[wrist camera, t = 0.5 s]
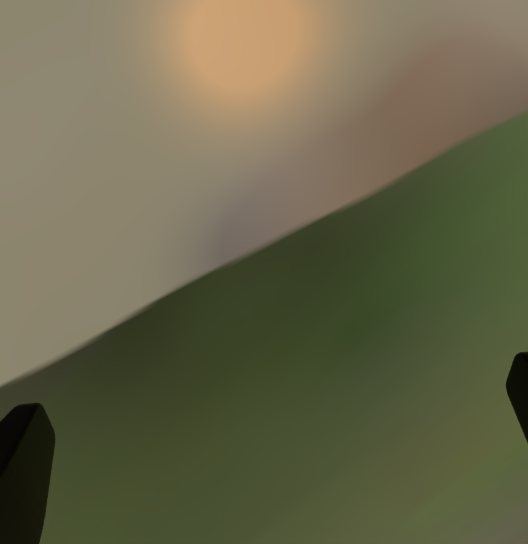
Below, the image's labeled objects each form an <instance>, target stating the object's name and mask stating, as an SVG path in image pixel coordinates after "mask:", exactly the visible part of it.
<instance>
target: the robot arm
mask: <svg viewBox="0 0 528 544" xmlns="http://www.w3.org/2000/svg"><path fill="white" fill-rule="evenodd" d="M506 390H507V394H508V396H509V399H510V401H511V404H512V406H513V409H514V411H515V413H516V416H517V418H518V421H519V423H520V425H521V428H522V430H523V433H524V435H525V438H526V440H527V442H528V352H520V353H518V354H517V355H516V356H515V357H514V360H513V363H512V366H511V369H510V372H509V375H508V378H507V381H506ZM54 447H55V433H54V429H53V427H52V425H51V423H50V420H49V418H48V416H47V414H46V411H45V409H44V407H43V406H42V405H41V404H40V403H30V404H21V405H17V406H16V407H14V408H13V409H12V410H11V411H10V412H9V413H8V414H7V415H6V416H5V417H4V418H3V419H2V420H1V421H0V544H39V542H40V538H41V533H42V529H43V524H44V518H45V512H46V505H47V498H48V491H49V483H50V476H51V469H52V462H53V455H54Z"/></svg>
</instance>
